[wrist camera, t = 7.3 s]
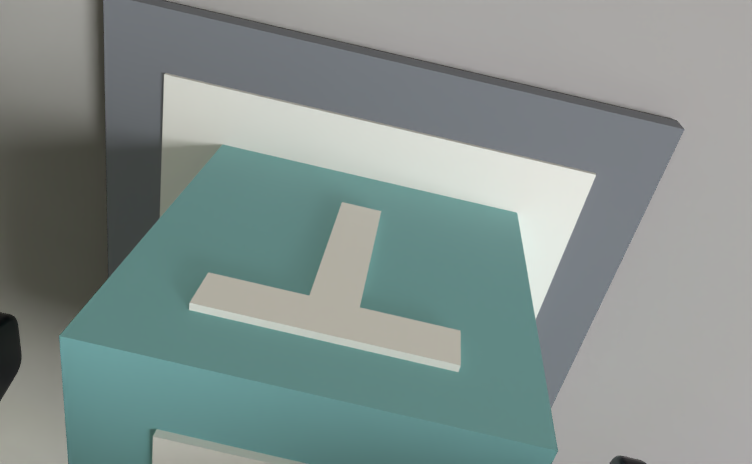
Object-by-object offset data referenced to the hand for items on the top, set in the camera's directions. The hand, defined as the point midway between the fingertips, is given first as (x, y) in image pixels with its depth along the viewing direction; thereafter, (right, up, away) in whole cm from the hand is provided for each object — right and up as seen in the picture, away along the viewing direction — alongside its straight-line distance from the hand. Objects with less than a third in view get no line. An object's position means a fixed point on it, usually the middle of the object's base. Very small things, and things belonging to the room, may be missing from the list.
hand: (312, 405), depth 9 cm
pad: (0, +2, +3) cm, 3 cm away
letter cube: (0, +1, +2) cm, 3 cm away
